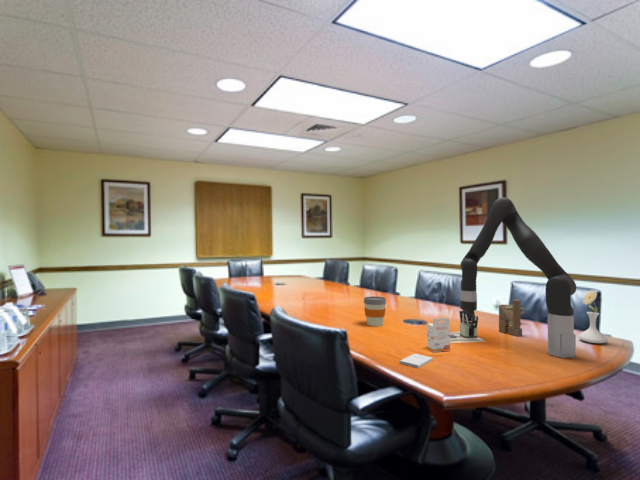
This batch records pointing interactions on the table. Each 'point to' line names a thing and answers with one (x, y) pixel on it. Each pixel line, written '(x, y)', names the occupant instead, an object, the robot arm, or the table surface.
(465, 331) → the block
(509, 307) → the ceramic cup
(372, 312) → the reusable coffee cup
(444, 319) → the ink cartridge box
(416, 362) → the external hard drive
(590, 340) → the flower in vase
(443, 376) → the table surface
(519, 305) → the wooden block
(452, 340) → the birch board
